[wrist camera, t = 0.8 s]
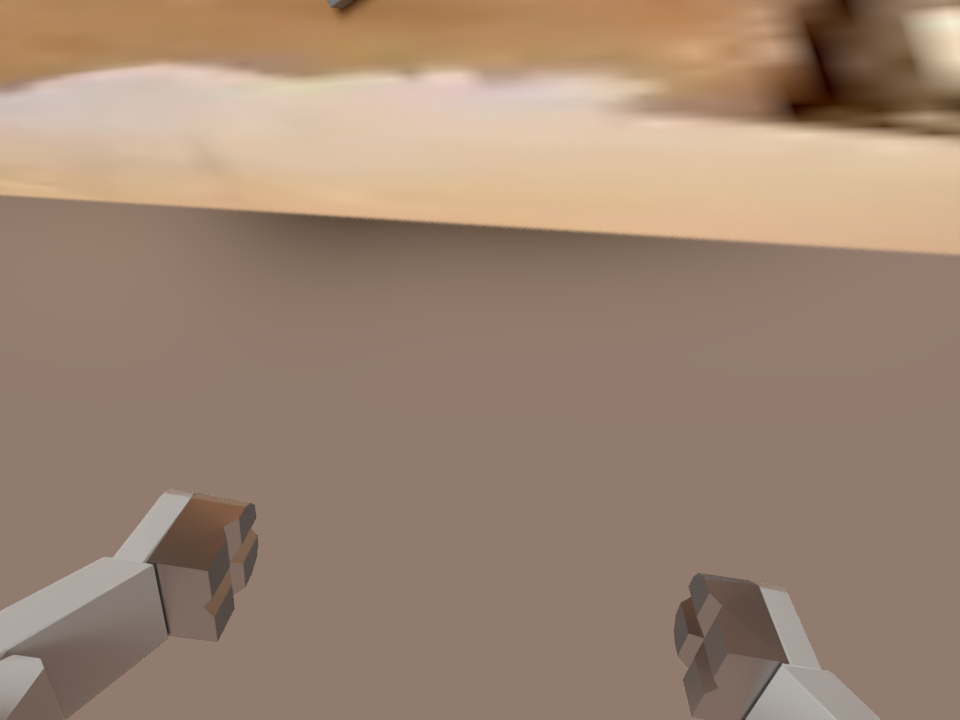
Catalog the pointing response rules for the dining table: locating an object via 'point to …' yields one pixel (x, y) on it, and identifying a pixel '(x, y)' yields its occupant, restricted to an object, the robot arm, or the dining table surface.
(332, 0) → the grey square frame
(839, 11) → the dining table surface
